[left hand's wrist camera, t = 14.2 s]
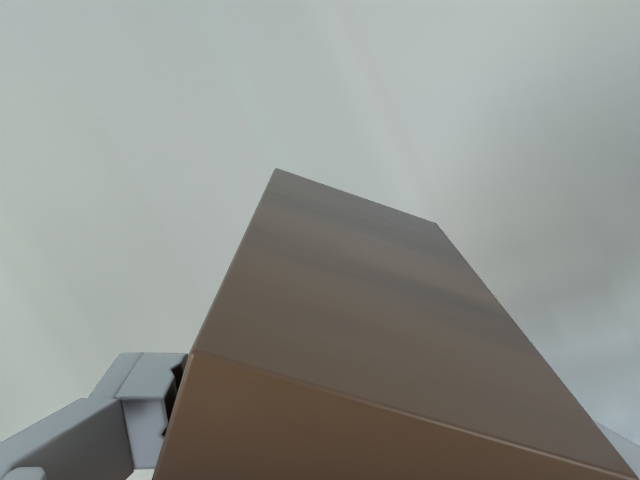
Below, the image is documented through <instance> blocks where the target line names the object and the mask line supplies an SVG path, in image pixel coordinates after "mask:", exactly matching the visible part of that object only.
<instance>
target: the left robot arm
mask: <svg viewBox="0 0 640 480" xmlns="http://www.w3.org/2000/svg"><path fill="white" fill-rule="evenodd" d="M188 356H189V355H188V354H186V353H122V354H119V355H118V356H117V358H116V359H115V361H114V362H113V363H112V365H111V366H110V368H109V369H108V370H107V372H106V373H105V375H104V376H103V377H102V379H101V380H100V381H99V383H98V384H97V386H96V387H95V388H94V390H93V391H92V393H91V394H90V395H89V397H88V398H80V399H79V400H77V401H75V402H73V403H71V404H70V405H68V406H66V407H64V408H62V409H61V410H59V411H57V412H55V413H53V414H52V415H50V416H48V417H46V418H44V419H43V420H41V421H39V422H37V423H35V424H34V425H32V426H30V427H28V428H26V429H25V430H23V431H21V432H19V433H17V434H16V435H14V436H12V437H10V438H8V439H7V440H5V441H3V442H1V443H0V480H125V479H127V478H128V477H129V476H130V475H131V474H132V473H133V472H134V470H133V469H155V468H156V464H157V461H158V457H159V454H160V451H161V447H162V444H163V441H164V437H165V434H166V430H167V427H168V424H169V420H170V417H171V414H172V410H173V407H174V404H175V400H176V397H177V393H178V390H179V387H180V383H181V380H182V377H183V373H184V370H185V366H186V363H187V360H188ZM593 421H594V420H593ZM594 422H595V424H596V425H597V426H598V427H599V429H600V430H601V431H602V432H603V434H604V435H605V436H606V437H607V439H608V440H609V441H610V442H611V444H612V445H613V446H614V447H615V449H616V450H617V451H618V452H619V454H620V455H621V456H622V457H623V459H624V460H625V461H626V462H627V464H628V465H629V466H630V468H631V469H632V470H633V471H634V473H635V474H636V475H637V476H638V478H639V479H640V446H638V445H637V444H635V443H633V442H631V441H629V440H628V439H626V438H624V437H622V436H621V435H619V434H617V433H615V432H613V431H612V430H610V429H608V428H606V427H605V426H603V425H601V424H599V423H597V422H596V421H594Z"/></svg>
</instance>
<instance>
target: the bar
mask: <svg viewBox="0 0 640 480" xmlns="http://www.w3.org/2000/svg"><path fill="white" fill-rule="evenodd" d="M152 480H640V479H639V478H638V476H637V475H636V474H635V473H634V471H633V470H632V469H631V468H630V466H629V465H628V464H627V462H626V461H625V460H624V459H623V457H622V456H621V455H620V454H619V452H618V451H617V450H616V449H615V447H614V446H613V445H612V444H611V442H610V441H609V440H608V439H607V437H606V436H605V435H604V434H603V432H602V431H601V430H600V429H599V427H598V426H597V425H596V424H595V422H594V421H593V420H592V418H591V417H590V416H589V415H588V413H587V412H586V411H585V410H584V408H583V407H582V406H581V405H580V403H579V402H578V401H577V400H576V398H575V397H574V396H573V395H572V393H571V392H570V391H569V390H568V388H567V387H566V386H565V385H564V383H563V382H562V381H561V379H560V378H559V377H558V376H557V374H556V373H555V372H554V371H553V369H552V368H551V367H550V366H549V364H548V363H547V362H546V361H545V359H544V358H543V357H542V356H541V354H540V353H539V352H538V351H537V349H536V348H535V347H534V346H533V344H532V343H531V342H530V340H529V339H528V338H527V337H526V335H525V334H524V333H523V332H522V330H521V329H520V328H519V327H518V325H517V324H516V323H515V322H514V320H513V319H512V318H511V317H510V315H509V314H508V313H507V312H506V310H505V309H504V308H503V307H502V305H501V304H500V303H499V302H498V300H497V299H496V298H495V296H494V295H493V294H492V293H491V291H490V290H489V289H488V288H487V286H486V285H485V284H484V283H483V281H482V280H481V279H480V278H479V276H478V275H477V274H476V273H475V271H474V270H473V269H472V268H471V266H470V265H469V264H468V263H467V261H466V260H465V259H464V257H463V256H462V255H461V254H460V252H459V251H458V250H457V249H456V247H455V246H454V245H453V244H452V242H451V241H450V240H449V239H448V237H447V236H446V235H445V234H444V232H443V231H442V230H441V229H440V227H439V226H438V225H437V224H436V223H434V222H431V221H428V220H425V219H422V218H419V217H416V216H413V215H410V214H408V213H405V212H402V211H399V210H396V209H393V208H390V207H387V206H384V205H381V204H379V203H376V202H373V201H370V200H367V199H364V198H361V197H358V196H355V195H353V194H350V193H347V192H344V191H341V190H338V189H335V188H332V187H329V186H327V185H324V184H321V183H318V182H315V181H312V180H309V179H306V178H303V177H300V176H298V175H295V174H292V173H289V172H286V171H283V170H280V169H275V170H274V172H273V174H272V176H271V178H270V180H269V183H268V185H267V187H266V189H265V191H264V193H263V195H262V198H261V200H260V202H259V204H258V206H257V208H256V211H255V213H254V215H253V217H252V219H251V221H250V223H249V226H248V228H247V230H246V232H245V234H244V236H243V239H242V241H241V243H240V245H239V247H238V249H237V252H236V254H235V256H234V258H233V260H232V262H231V264H230V267H229V269H228V271H227V273H226V275H225V277H224V280H223V282H222V284H221V286H220V288H219V290H218V292H217V295H216V297H215V299H214V301H213V303H212V305H211V308H210V310H209V312H208V314H207V316H206V318H205V320H204V323H203V325H202V327H201V329H200V331H199V333H198V336H197V338H196V340H195V342H194V344H193V346H192V348H191V351H190V353H189V356H188V360H187V363H186V366H185V370H184V373H183V377H182V380H181V383H180V387H179V390H178V393H177V397H176V400H175V404H174V407H173V410H172V414H171V417H170V420H169V424H168V427H167V430H166V434H165V437H164V441H163V444H162V447H161V451H160V454H159V457H158V461H157V464H156V468H155V471H154V474H153V478H152Z"/></svg>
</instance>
